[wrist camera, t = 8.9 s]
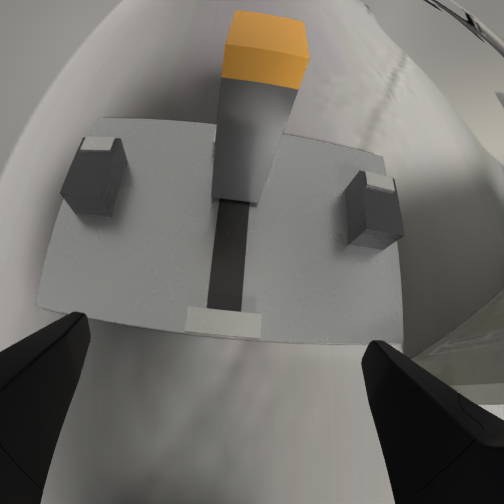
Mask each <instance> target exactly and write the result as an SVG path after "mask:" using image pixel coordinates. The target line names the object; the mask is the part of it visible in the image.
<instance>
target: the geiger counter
mask: <svg viewBox="0 0 504 504" xmlns="http://www.w3.org/2000/svg"><path fill="white" fill-rule="evenodd" d="M411 360H412V361H414V362H415V363H417V364H418V365H419V366H421V367H422V368H424V369H425V370H427V371H428V372H430V373H431V374H433V375H434V376H435V377H437V378H438V379H440V380H441V381H443V382H444V383H446V384H447V385H449V386H450V387H451V388H453V389H454V390H456V391H457V393H460V394H462V395H463V396H464V397H466V398H467V399H469V400H470V401H472V402H474V403H475V404H477V405H502V404H504V289H502V290H501V291H500V292H499V293H498V294H497V295H496V296H495V297H493V298H492V299H491V300H490V301H489V302H488V303H486V304H485V305H484V306H483V307H482V308H480V309H479V310H478V311H477V312H475V313H474V314H473V315H472V316H470V317H469V318H468V319H467V320H465V321H464V322H463V323H462V324H460V325H459V326H458V327H456V328H455V329H454V330H452V331H451V332H450V333H448V334H447V335H445V336H444V337H443V338H441V339H440V340H438V341H437V342H436V343H434V344H433V345H431V346H430V347H428V348H427V349H425V350H424V351H422V352H421V353H419V354H418V355H416V356H415V357H413V358H412V359H411Z"/></svg>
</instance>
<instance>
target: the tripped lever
mask: <svg viewBox="0 0 504 504" xmlns="http://www.w3.org/2000/svg"><path fill="white" fill-rule="evenodd" d="M309 59H310V57H309V51H308V44H307V38H306V31H305V25H304V22H303V21H298V20H294V19H289V18H284V17H279V16H273V15H267V14H261V13H254V12H247V11H239V10H236V11H235V14H234V17H233V20H232V24H231V27H230V30H229V34H228V37H227V40H226V44H225V51H224V59H223V68H222V77H221V86H220V96H219V106H218V116H217V127H216V138H215V150H214V163H213V176H212V191H211V197H214V198H222V199H230V200H238V201H246V202H254V203H259V200H260V197H261V195H262V192H263V189H264V186H265V183H266V180H267V177H268V174H269V172H270V169H271V166H272V163H273V160H274V157H275V154H276V152H277V149H278V146H279V143H280V140H281V137H282V135H283V132H284V129H285V126H286V123H287V120H288V118H289V115H290V112H291V109H292V106H293V103H294V101H295V98H296V95H297V92H298V89H299V87H300V84H301V81H302V78H303V75H304V73H305V70H306V67H307V64H308V62H309Z"/></svg>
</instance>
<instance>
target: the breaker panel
mask: <svg viewBox="0 0 504 504" xmlns="http://www.w3.org/2000/svg"><path fill="white" fill-rule="evenodd" d="M216 127H217V124H208V123H198V122H187V121H174V120H158V119H135V118H97V120H96V122H95V124H94V126H93V129H92V131H91V133H90V135H89V137H86V138H83V139H82V142H81V144H80V146H79V148H78V150H77V153H76V155H75V157H74V160H73V162H72V164H71V167H70V169H69V172H68V174H67V177H66V179H65V182H64V184H63V187H62V190H61V192H60V194H61V195H62V197H63V201H62V204H61V207H60V210H59V213H58V216H57V219H56V222H55V226H54V229H53V232H52V236H51V239H50V243H49V246H48V250H47V254H46V258H45V262H44V266H43V270H42V274H41V279H40V284H39V288H38V293H37V298H36V304H35V306H37V307H39V308H42V309H45V310H49V311H54V312H58V313H63V314H67V315H68V314H70V313H72V312H74V311H77V312H82V313H85V314H86V315H87V318H88V319H91V320H97V321H102V322H107V323H113V324H119V325H124V326H130V327H137V328H143V329H150V330H156V331H164V332H171V333H179V334H187V335H195V336H204V337H213V338H223V339H234V340H246V341H259V342H274V343H293V344H320V345H369V343H370V342H371V341H372V340H383V341H385V342H386V343H388V344H389V345H395V344H401V343H403V306H402V289H401V275H400V264H399V254H398V245H397V240H398V239H400V238H401V237H402V236H404V233H403V226H402V219H401V213H400V207H399V201H398V196H397V190H396V185H395V180H394V179H393V178H392V177H388V176H387V174H386V169H385V165H384V160H383V157H382V156H379V155H375V154H371V153H367V152H364V151H360V150H356V149H352V148H348V147H344V146H339V145H335V144H331V143H326V142H321V141H317V140H312V139H307V138H302V137H297V136H291V135H286V134H283V135H282V137H281V140H280V143H279V146H278V149H277V152H276V154H275V157H274V160H273V163H272V166H271V169H270V172H269V174H268V177H267V180H266V183H265V186H264V189H263V192H262V195H261V197H260V200H259V203H254V202H246V201H238V200H230V199H222V198H214V197H211V191H212V176H213V163H214V150H215V138H216Z"/></svg>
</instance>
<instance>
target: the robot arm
mask: <svg viewBox="0 0 504 504" xmlns="http://www.w3.org/2000/svg"><path fill="white" fill-rule="evenodd" d="M90 338H91V335H90V329H89V324H88V318H87V315H86V314H85V313H82V312H77V311H74V312H72V313H70V314H68V315H66V316H64V317H62V318H60V319H59V320H57V321H55V322H53V323H51V324H49V325H48V326H46V327H44V328H42V329H40V330H38V331H37V332H35V333H33V334H31V335H29V336H28V337H26V338H24V339H22V340H20V341H19V342H17V343H15V344H13V345H12V346H10V347H8V348H6V349H5V350H3V351H1V352H0V504H40V503H41V499H42V494H43V490H44V486H45V482H46V478H47V474H48V471H49V467H50V464H51V460H52V457H53V453H54V450H55V447H56V444H57V441H58V437H59V434H60V431H61V428H62V425H63V423H64V420H65V417H66V414H67V411H68V408H69V406H70V403H71V400H72V398H73V395H74V392H75V390H76V387H77V384H78V381H79V378H80V375H81V371H82V367H83V364H84V360H85V357H86V353H87V350H88V346H89V343H90ZM361 365H362V370H363V375H364V381H365V386H366V391H367V397H368V401H369V405H370V409H371V412H372V416H373V419H374V423H375V426H376V430H377V433H378V437H379V441H380V444H381V448H382V452H383V455H384V459H385V463H386V467H387V471H388V475H389V479H390V483H391V487H392V492H393V496H394V500H395V504H504V420H502V419H500V418H499V417H497V416H495V415H493V414H492V413H490V412H488V411H487V410H485V409H483V408H482V407H480V406H478V405H477V404H475V403H474V402H472V401H470V400H469V399H467V398H466V397H464V396H463V395H462V394H460V393H457V391H456V390H454V389H453V388H451V387H450V386H449V385H447V384H446V383H444V382H443V381H441V380H440V379H438V378H437V377H435V376H434V375H433V374H431V373H430V372H428V371H427V370H425V369H424V368H422V367H421V366H419V365H418V364H417V363H415V362H414V361H412V360H411V359H409V358H408V357H406V356H405V355H404V354H402V353H401V352H399V351H398V350H396V349H395V348H393V347H392V346H390V345H389V344H388V343H386V342H385V341H383V340H372V341H371V342H370V343H369V345H368V347H367V349H366V351H365V353H364V356H363V358H362V362H361Z"/></svg>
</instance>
